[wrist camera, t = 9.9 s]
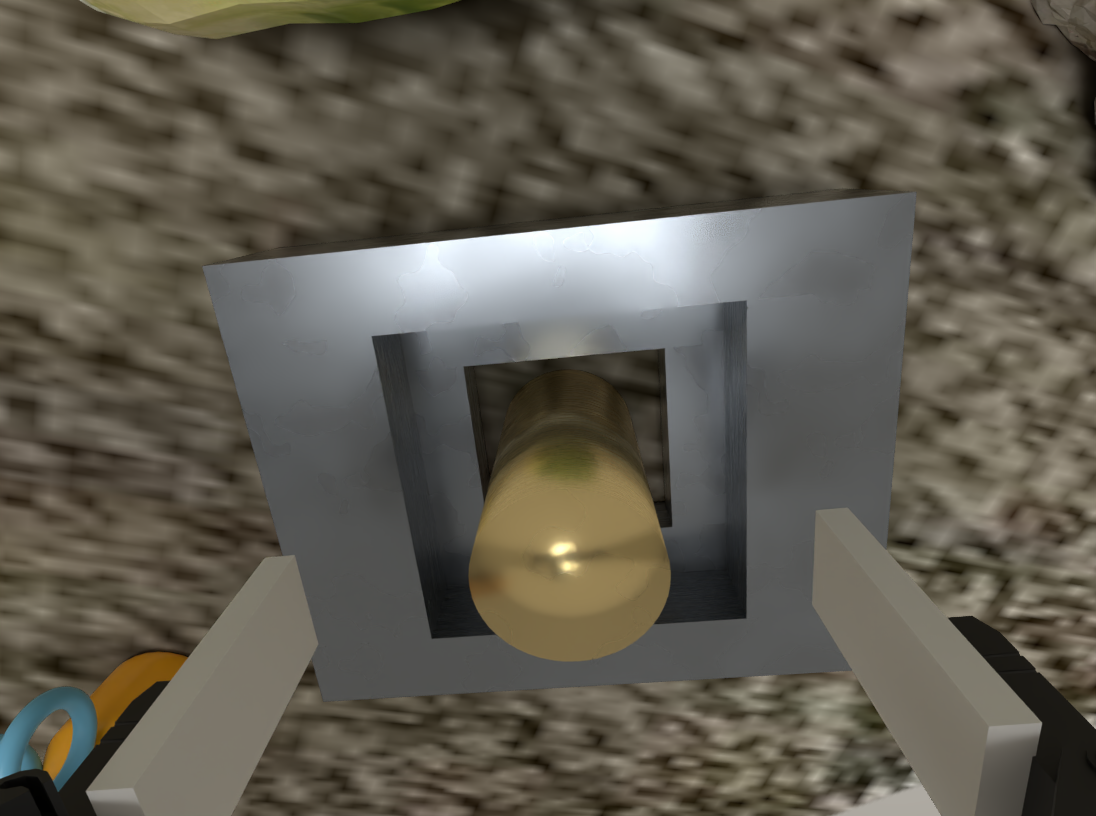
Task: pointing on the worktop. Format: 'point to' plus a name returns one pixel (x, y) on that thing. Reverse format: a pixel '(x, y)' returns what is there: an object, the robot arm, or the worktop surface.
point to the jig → (566, 331)
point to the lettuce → (252, 13)
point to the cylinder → (81, 717)
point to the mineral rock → (1072, 22)
